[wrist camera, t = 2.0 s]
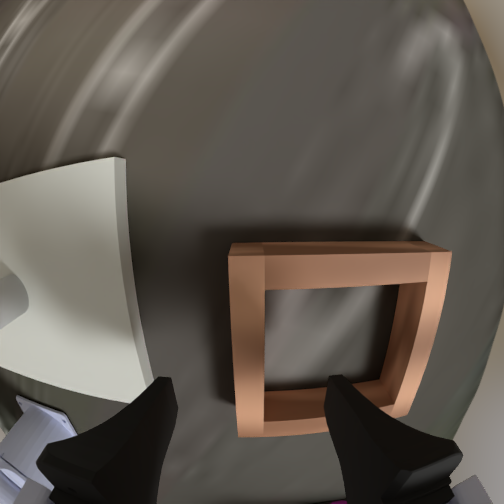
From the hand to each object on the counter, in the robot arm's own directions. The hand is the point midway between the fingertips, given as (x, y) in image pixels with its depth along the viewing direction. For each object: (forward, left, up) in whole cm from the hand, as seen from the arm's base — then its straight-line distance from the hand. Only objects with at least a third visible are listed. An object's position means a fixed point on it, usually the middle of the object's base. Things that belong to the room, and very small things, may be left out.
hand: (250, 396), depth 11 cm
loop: (0, -5, -5) cm, 7 cm away
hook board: (+3, +17, -5) cm, 18 cm away
